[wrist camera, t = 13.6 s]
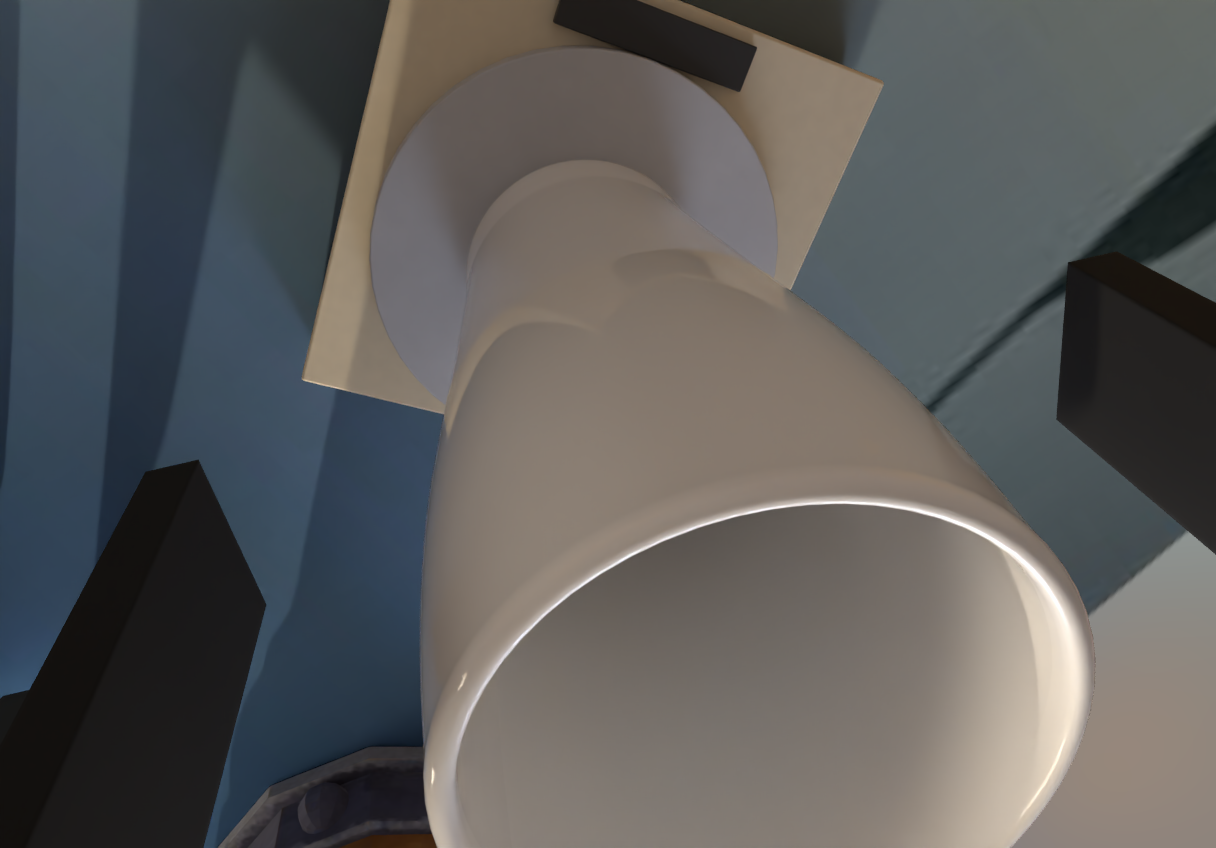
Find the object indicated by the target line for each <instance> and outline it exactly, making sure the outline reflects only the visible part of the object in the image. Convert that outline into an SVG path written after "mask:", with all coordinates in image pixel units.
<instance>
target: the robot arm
mask: <svg viewBox="0 0 1216 848" xmlns="http://www.w3.org/2000/svg"><path fill="white" fill-rule="evenodd" d="M1056 420H1058V421H1059V422H1060V423H1061V424H1062V425H1064V426H1065V427H1066V428H1067V429H1068V430H1069V431H1071V432H1072V433H1073V434H1074V435H1075V436H1077V437H1078V438H1079V439H1080V440H1081V441H1082V442H1084V443H1085V444H1086V445H1087V446H1088V447H1090V448H1091V449H1092V450H1093V451H1094V452H1095V453H1097V454H1098V455H1099V456H1100V457H1101V458H1103V459H1104V460H1105V461H1106V462H1107V463H1108V464H1110V465H1111V466H1112V467H1113V468H1114V469H1115V470H1117V471H1118V472H1119V473H1120V474H1121V475H1123V476H1124V477H1125V478H1126V479H1127V480H1128V481H1130V482H1131V483H1132V484H1133V485H1134V486H1136V487H1137V488H1138V489H1139V490H1140V491H1141V492H1143V493H1144V494H1145V495H1146V496H1147V497H1149V498H1150V499H1151V500H1152V501H1153V502H1154V503H1156V504H1157V505H1158V506H1159V507H1160V508H1162V509H1163V510H1164V511H1165V512H1166V513H1167V514H1169V515H1170V516H1171V517H1172V518H1173V519H1174V520H1176V521H1177V522H1178V523H1179V524H1180V525H1182V526H1183V527H1184V528H1185V529H1186V530H1187V531H1189V532H1190V533H1191V534H1192V535H1194V536H1195V537H1196V538H1197V539H1198V540H1199V541H1201V542H1202V543H1203V544H1204V545H1205V546H1206V547H1208V548H1209V549H1210V550H1211V551H1212V552H1213V553H1215V554H1216V303H1215V302H1213V301H1211V300H1209V299H1207V298H1205V297H1203V296H1201V295H1199V294H1197V293H1196V292H1194V291H1192V290H1190V289H1188V288H1186V287H1184V286H1182V285H1180V284H1178V283H1176V282H1174V281H1172V280H1171V279H1169V278H1167V277H1165V276H1163V275H1161V274H1159V273H1157V272H1155V271H1153V270H1151V269H1149V268H1147V267H1146V266H1144V265H1142V264H1140V263H1138V262H1136V261H1134V260H1132V259H1130V258H1128V257H1126V256H1124V255H1122V254H1121V253H1119V252H1112V253H1108V254H1104V255H1099V256H1095V257H1090V258H1086V259H1082V260H1077V261H1073V262H1068V271H1067V284H1066V297H1065V311H1064V324H1063V338H1062V351H1061V364H1060V378H1059V391H1058V404H1057V418H1056ZM265 607H266V603H265V601H264V598H263V596H262V594H261V592H260V590H259V588H258V586H257V583H256V581H255V579H254V577H253V575H252V573H251V571H250V569H249V566H248V564H247V562H246V560H245V558H244V556H243V554H242V551H241V549H240V547H239V545H238V543H237V541H236V539H235V537H234V534H233V532H232V530H231V528H230V526H229V524H228V522H227V519H226V517H225V515H224V513H223V511H222V509H221V507H220V505H219V502H218V500H217V498H216V496H215V494H214V492H213V490H212V487H211V485H210V483H209V481H208V479H207V477H206V475H205V473H204V470H203V468H202V466H201V464H200V462H199V460H195V461H191V462H186V463H182V464H177V465H173V466H169V467H164V468H160V469H155V470H151V471H147V472H145V474H144V476H143V477H142V479H141V481H140V483H139V485H138V487H137V489H136V491H135V492H134V494H133V496H132V498H131V500H130V502H129V504H128V506H127V508H126V509H125V511H124V513H123V515H122V517H121V519H120V521H119V523H118V524H117V526H116V528H115V530H114V532H113V534H112V536H111V538H110V540H109V541H108V543H107V545H106V547H105V549H104V551H103V553H102V555H101V556H100V558H99V560H98V562H97V564H96V566H95V568H94V570H93V572H92V573H91V575H90V577H89V579H88V581H87V583H86V585H85V587H84V588H83V590H82V592H81V594H80V596H79V598H78V600H77V602H76V604H75V605H74V607H73V609H72V611H71V613H70V615H69V617H68V619H67V620H66V622H65V624H64V626H63V628H62V630H61V632H60V634H59V636H58V637H57V639H56V641H55V643H54V645H53V647H52V649H51V651H50V652H49V654H48V656H47V658H46V660H45V662H44V664H43V666H42V667H41V669H40V671H39V673H38V675H37V677H36V679H35V681H34V683H33V684H32V686H31V688H30V690H27V691H23V692H18V693H14V694H10V695H6V696H3V697H2V698H1V699H0V848H203V847H204V843H205V839H206V835H207V832H208V828H209V824H210V820H211V816H212V812H213V808H214V804H215V801H216V797H217V793H218V789H219V785H220V781H221V777H222V774H223V770H224V766H225V762H226V758H227V754H228V750H229V746H230V743H231V739H232V735H233V731H234V727H235V723H236V719H237V716H238V712H239V708H240V704H241V700H242V696H243V692H244V688H245V685H246V681H247V677H248V673H249V669H250V665H251V661H252V658H253V654H254V650H255V646H256V642H257V638H258V634H259V630H260V627H261V623H262V619H263V615H264V611H265Z"/></svg>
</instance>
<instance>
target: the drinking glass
mask: <svg viewBox="0 0 1216 848" xmlns="http://www.w3.org/2000/svg"><path fill="white" fill-rule="evenodd" d="M465 282H466V298H465V304H464V310H463V316H462V321H461V327H460V332H459V338H458V343H457V348H456V354H455V359H454V364H453V369H452V375H451V380H450V385H449V390H448V395H447V400H446V405H445V410H444V415H443V420H442V425H441V430H440V435H439V440H438V445H437V450H436V455H435V461H434V466H433V472H432V478H431V483H430V490H429V497H428V504H427V512H426V522H425V533H424V544H423V557H422V572H421V589H420V688H421V712H422V733H423V754H424V765H423V780H424V800H425V805H426V810H427V816H428V821H429V826H430V829H431V832H432V835H433V838H434V840H435V843H436V846H437V848H1011V847H1012V846H1013V845H1014V844H1015V843H1016V842H1017V841H1018V840H1019V838H1020V837H1021V836H1022V835H1023V834H1024V833H1025V832H1026V830H1027V829H1028V828H1029V827H1030V826H1031V825H1032V824H1033V823H1034V821H1035V820H1036V819H1037V817H1038V816H1039V814H1040V813H1041V812H1042V811H1043V809H1044V808H1045V807H1046V806H1047V804H1048V803H1049V802H1050V800H1051V798H1052V797H1053V795H1054V794H1055V792H1056V790H1057V789H1058V787H1059V786H1060V784H1061V783H1062V781H1063V779H1064V777H1065V776H1066V774H1067V772H1068V770H1069V768H1070V766H1071V764H1072V762H1073V760H1074V758H1075V756H1076V753H1077V751H1078V748H1079V746H1080V743H1081V741H1082V738H1083V735H1084V733H1085V729H1086V726H1087V722H1088V718H1089V715H1090V711H1091V706H1092V700H1093V693H1094V687H1095V652H1094V643H1093V635H1092V631H1091V627H1090V623H1089V619H1088V615H1087V611H1086V609H1085V606H1084V604H1083V601H1082V599H1081V597H1080V594H1079V592H1078V589H1077V587H1076V585H1075V584H1074V582H1073V580H1072V579H1071V577H1070V575H1069V574H1068V572H1067V570H1066V569H1065V567H1064V565H1063V564H1062V562H1061V561H1060V560H1059V558H1058V557H1057V556H1056V555H1055V554H1054V552H1053V551H1052V550H1051V549H1050V547H1049V546H1048V545H1047V544H1046V543H1045V541H1044V540H1043V539H1042V538H1041V537H1040V536H1039V535H1038V534H1037V533H1036V532H1035V531H1034V530H1033V529H1032V528H1031V526H1030V525H1029V524H1028V523H1027V522H1026V521H1025V519H1024V518H1023V517H1022V516H1021V515H1020V513H1019V512H1018V511H1017V510H1016V508H1015V507H1014V506H1013V505H1012V504H1011V502H1010V501H1009V500H1008V499H1007V498H1006V496H1005V495H1004V494H1003V493H1002V491H1001V490H1000V489H999V488H998V487H997V485H996V484H995V483H994V482H993V481H992V479H991V478H990V477H989V476H988V475H987V474H986V472H985V471H984V470H983V469H982V468H981V466H980V465H979V464H978V463H977V462H976V461H975V460H974V458H973V457H972V456H971V455H970V454H969V453H968V452H967V450H966V449H965V448H964V447H963V446H962V445H961V444H960V443H959V441H958V440H957V439H956V438H955V437H954V436H953V435H952V434H951V433H950V432H949V431H948V429H947V428H946V427H945V426H944V425H943V424H942V423H941V422H940V421H939V420H938V419H937V418H936V417H935V416H934V415H933V414H932V413H931V412H930V410H929V409H928V408H927V407H926V406H925V405H924V404H923V403H922V402H921V401H920V400H919V399H918V398H917V397H916V396H915V395H914V394H913V393H912V392H911V391H910V390H909V389H908V388H906V387H905V386H904V385H903V384H902V383H901V382H900V381H899V380H898V379H897V378H896V377H895V376H894V375H893V374H892V373H891V372H890V371H889V370H888V369H887V368H886V367H884V366H883V365H882V364H881V363H880V362H879V361H878V360H877V359H876V358H875V357H874V356H872V355H871V354H870V353H869V352H868V351H867V350H866V349H865V348H864V347H863V346H861V345H860V344H859V343H858V342H857V341H855V340H854V339H853V338H852V337H851V336H849V335H848V334H847V333H846V332H845V331H843V330H842V329H841V328H840V327H838V326H837V325H836V324H834V323H833V322H832V321H830V320H829V319H828V318H827V317H825V316H824V315H823V314H821V313H820V312H819V311H817V310H816V309H815V308H813V307H812V306H811V305H809V304H808V303H807V302H805V301H804V300H803V299H801V298H800V297H799V296H797V295H796V294H795V293H793V292H792V291H790V290H789V289H788V288H786V287H785V286H784V285H782V284H781V283H780V282H778V281H777V280H775V279H774V278H773V277H771V276H770V275H769V274H767V273H766V272H765V271H763V270H762V269H760V268H759V267H758V266H756V265H755V264H754V263H752V262H751V261H750V260H748V259H747V258H745V257H744V256H743V255H741V254H740V253H739V252H737V251H736V250H735V249H733V248H732V247H731V246H729V245H728V244H727V243H725V242H724V241H723V240H721V239H720V238H719V237H717V236H716V235H715V234H713V233H712V232H711V231H709V230H708V229H707V228H706V227H704V226H703V225H702V224H700V223H699V222H698V221H696V220H695V219H694V218H693V217H691V216H690V215H689V214H687V213H686V212H685V211H684V210H683V209H682V208H681V207H680V206H679V204H678V203H677V202H676V201H675V200H674V199H673V198H672V196H671V195H670V194H669V193H668V192H666V191H665V190H664V189H663V188H662V187H661V186H660V185H658V184H657V183H656V182H654V181H653V180H652V179H650V178H649V177H647V176H645V175H644V174H642V173H640V172H638V171H636V170H634V169H632V168H629V167H626V166H623V165H620V164H617V163H613V162H609V161H602V160H594V159H579V160H569V161H563V162H558V163H554V164H551V165H547V166H545V167H542V168H540V169H537V170H535V171H533V172H531V173H529V174H527V175H525V176H524V177H522V178H521V179H519V180H517V181H516V182H514V183H513V184H512V185H511V186H509V187H508V188H507V189H506V190H505V191H504V192H503V193H502V194H501V195H500V196H498V197H497V199H496V200H495V201H494V202H493V203H492V205H491V206H490V207H489V208H488V210H487V211H486V213H485V214H484V216H483V217H482V219H481V221H480V223H479V225H478V226H477V229H476V231H475V233H474V236H473V238H472V241H471V244H470V248H469V252H468V257H467V262H466V273H465Z"/></svg>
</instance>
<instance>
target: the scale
mask: <svg viewBox="0 0 1216 848" xmlns="http://www.w3.org/2000/svg"><path fill="white" fill-rule="evenodd" d="M883 84H884V83H883V81H882V80H879V79H877V78H874V77H872V76H869V75H867V74H864V73H862V72H859V71H857V70H854V69H852V68H849V67H847V66H844V65H841V64H839V63H836V62H834V61H831V60H829V59H826V58H824V57H821V56H819V55H816V54H814V53H811V52H809V51H806V50H804V49H801V48H799V47H796V46H794V45H791V44H788V43H786V42H783V41H781V40H778V39H776V38H773V37H771V36H768V35H766V34H763V33H761V32H758V31H756V30H753V29H751V28H748V27H746V26H743V25H740V24H738V23H735V22H733V21H730V20H728V19H725V18H723V17H720V16H718V15H715V14H713V13H710V12H708V11H705V10H703V9H700V8H698V7H695V6H693V5H690V4H687V3H685V2H682V1H680V0H390V3H389V7H388V11H387V15H386V20H385V24H384V28H383V32H382V37H381V41H380V45H379V49H378V54H377V58H376V62H375V66H374V71H373V75H372V79H371V83H370V88H369V92H368V96H367V100H366V105H365V109H364V113H363V117H362V122H361V126H360V130H359V134H358V139H357V143H356V147H355V151H354V156H353V160H352V164H351V169H350V173H349V177H348V181H347V186H346V190H345V194H344V198H343V203H342V207H341V211H340V215H339V220H338V224H337V228H336V232H335V237H334V241H333V245H332V249H331V254H330V258H329V262H328V266H327V271H326V275H325V279H324V283H323V288H322V292H321V296H320V300H319V305H318V309H317V313H316V317H315V322H314V326H313V330H312V334H311V339H310V343H309V347H308V351H307V356H306V360H305V364H304V368H303V373H302V380H304V381H307V382H311V383H316V384H320V385H324V386H328V387H332V388H336V389H341V390H345V391H349V392H353V393H357V394H361V395H366V396H370V397H374V398H378V399H382V400H386V401H390V402H395V403H399V404H403V405H407V406H411V407H415V408H420V409H424V410H428V411H432V412H436V413H440V414H444V410H445V405H446V400H447V395H448V390H449V385H450V380H451V375H452V369H453V364H454V359H455V354H456V348H457V343H458V338H459V332H460V327H461V321H462V316H463V310H464V304H465V298H466V282H465V273H466V262H467V257H468V252H469V248H470V244H471V241H472V238H473V236H474V233H475V231H476V229H477V226H478V225H479V223H480V221H481V219H482V217H483V216H484V214H485V213H486V211H487V210H488V208H489V207H490V206H491V205H492V203H493V202H494V201H495V200H496V199H497V197H498V196H500V195H501V194H502V193H503V192H504V191H505V190H506V189H507V188H508V187H509V186H511V185H512V184H513V183H514V182H516V181H517V180H519V179H521V178H522V177H524V176H525V175H527V174H529V173H531V172H533V171H535V170H537V169H540V168H542V167H545V166H547V165H551V164H554V163H558V162H563V161H569V160H579V159H594V160H602V161H609V162H613V163H617V164H620V165H623V166H626V167H629V168H632V169H634V170H636V171H638V172H640V173H642V174H644V175H645V176H647V177H649V178H650V179H652V180H653V181H654V182H656V183H657V184H658V185H660V186H661V187H662V188H663V189H664V190H665V191H666V192H668V193H669V194H670V195H671V196H672V198H673V199H674V200H675V201H676V202H677V203H678V204H679V206H680V207H681V208H682V209H683V210H684V211H685V212H686V213H687V214H689V215H690V216H691V217H693V218H694V219H695V220H696V221H698V222H699V223H700V224H702V225H703V226H704V227H706V228H707V229H708V230H709V231H711V232H712V233H713V234H715V235H716V236H717V237H719V238H720V239H721V240H723V241H724V242H725V243H727V244H728V245H729V246H731V247H732V248H733V249H735V250H736V251H737V252H739V253H740V254H741V255H743V256H744V257H745V258H747V259H748V260H750V261H751V262H752V263H754V264H755V265H756V266H758V267H759V268H760V269H762V270H763V271H765V272H766V273H767V274H769V275H770V276H771V277H773V278H774V279H775V280H777V281H778V282H780V283H781V284H782V285H784V286H785V287H786V288H788V289H789V290H791V288H792V286H793V284H794V282H795V279H796V277H797V275H798V273H799V271H800V268H801V266H802V264H803V262H804V260H805V257H806V255H807V253H808V251H809V248H810V246H811V244H812V242H813V240H814V237H815V235H816V233H817V231H818V229H819V226H820V224H821V222H822V220H823V218H824V215H825V213H826V211H827V209H828V207H829V204H830V202H831V200H832V198H833V195H834V193H835V191H836V189H837V187H838V184H839V182H840V180H841V178H842V176H843V173H844V171H845V169H846V167H847V165H848V162H849V160H850V158H851V156H852V154H853V151H854V149H855V147H856V145H857V143H858V140H859V138H860V136H861V134H862V131H863V129H864V127H865V125H866V123H867V120H868V118H869V116H870V114H871V112H872V109H873V107H874V105H875V103H876V101H877V98H878V96H879V94H880V92H881V90H882V87H883Z"/></svg>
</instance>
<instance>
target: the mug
mask: <svg viewBox="0 0 1216 848" xmlns="http://www.w3.org/2000/svg"><path fill="white" fill-rule="evenodd" d="M423 765H424V754H423V747H368V748H365V749H363V750H360V751H358V752H355V753H353V754H350V755H348V756H345V757H343V758H340V759H337V760H335V761H332V762H330V763H327V764H325V765H322V766H320V767H317V768H315V769H312V770H310V771H307V772H305V773H302V774H299V775H297V776H294V777H292V778H289V779H287V780H284V781H282V782H279V783H277V784H274V785H272V786H270V787H269V788H268V789H267V790H266V791H265V793H264V794H263V795H262V796H261V797H260V798H259V800H258V801H257V802H256V803H255V804H254V806H253V807H252V808H251V809H250V810H249V811H248V813H247V814H246V815H245V816H244V817H243V818H242V820H241V821H240V822H239V823H238V824H237V825H236V827H235V828H234V829H233V830H232V831H231V833H230V834H229V835H228V836H227V837H226V838H225V840H224V841H223V842H222V843H221V844H220V845H219V847H218V848H437V846H436V843H435V840H434V838H433V835H432V832H431V829H430V826H429V821H428V816H427V810H426V805H425V800H424V780H423Z"/></svg>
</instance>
